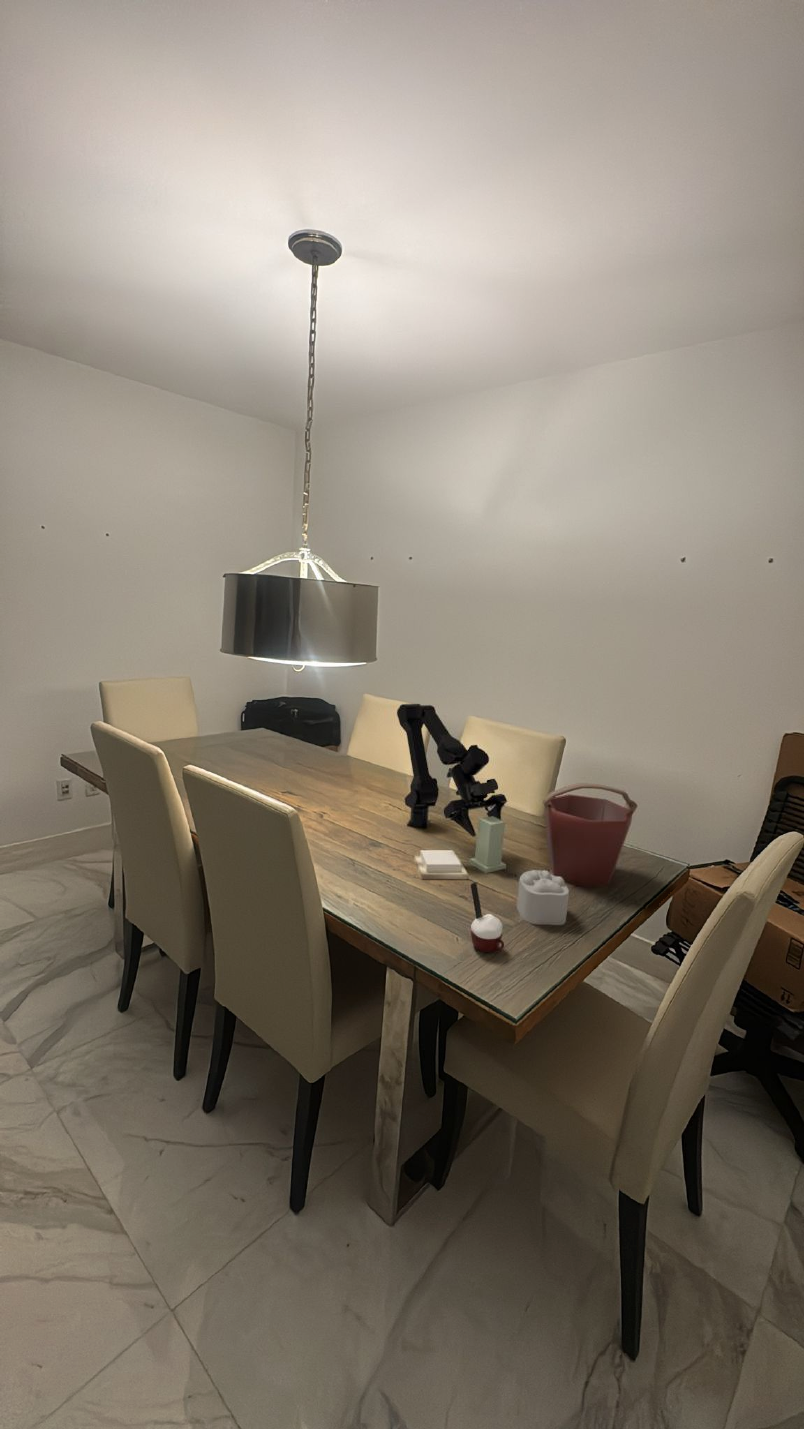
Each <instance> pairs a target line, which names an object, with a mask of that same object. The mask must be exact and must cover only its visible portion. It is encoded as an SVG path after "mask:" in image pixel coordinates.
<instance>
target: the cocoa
mask: <svg viewBox="0 0 804 1429" xmlns="http://www.w3.org/2000/svg"><path fill="white" fill-rule="evenodd" d="M477 885H478V884H477V882H476V881H475V882H472V883H471V884H470V889H471V895H472V900H473V907H474V911H475V919H474V920H473V921H472V923H471V926H470V930H471V931H470V936H471V941H472V944H473V946H474V948H476V949H477V950H478V951H480V952H484V953H492V952H500V951H501V950H503V949H504V948H505V941H503V940H502V937H503V923H502V921H500V919H499V918H498V917H496V916H494V915H493V914H491V913H487V914H485V915H483V913H482V908H481V902H480V896H479V890H478V886H477ZM500 945H501V946H500ZM499 946H500V947H499Z"/></svg>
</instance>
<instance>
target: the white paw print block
mask: <svg viewBox="0 0 804 1429" xmlns="http://www.w3.org/2000/svg"><path fill="white" fill-rule="evenodd" d="M565 882H566V881H564V879H563V878H562V877H559V876H558V877H557V876H554V875H553V873H552V874H551V873H550V872H549V871H548V870H536V869H532V870H528V871H524V872H523V873H522V874H521V875H520V877H519V882H518V890H517V898H516V899H517V900H516V909H517V911H518V913H519V914H520V916H521V917H522V919H523V920H524V921H526V922H528V923H530V924H531V925H532V924H533V925H552V926H553V925H554V926H562V925H564V924H565V923H566V920H567V914H568V913H567V911H568V905H569V897H570V896H569V895H570V890H569V888H568V886H567V885H566V883H565Z"/></svg>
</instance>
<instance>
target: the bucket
mask: <svg viewBox="0 0 804 1429" xmlns="http://www.w3.org/2000/svg"><path fill="white" fill-rule="evenodd" d="M581 789H596V790H603V791H607V792H608V791H609V792H612V793H615V794H618V795H621V797H622V798H623V800H624V801H625V805H624V806H622V805H619V804H617V803H616V802H613V801H610V800H609V799H606V798H598V797H589V796H584V795H576V794H570V792H573V791H577V790H581ZM567 793H569V794H567ZM564 794H565V795H564ZM542 804H543V806H544V820H545V832H546V842H547V844H546V846H547V856H548V858H547V859H548V866H549V868H550V870H551V873H552V875H554V876H557V877H558V876H559V877H562V878H563V879H564V882H567V883H571V884H573V885H576V886H578V887H582V888H583V887H608V886H609V884H610V881H611V880H612V877H613V875H614V872H615V870H616V867H617V864H618V861H619V859H620V855H621V853H622V851H623V847H624V844H625V841H626V839H627V835H628V832H629V830H630V828H631V827H630V826H631V824H632V821H633V815H634V813H635V812H636V810H637V808H638V804H637V803H636V802H635V801H634V800H633V799H631V798H630V797H629V794H628V793H627V792H626V791H625V790H622V789H619V788H617V787H616V788H615V787H612V786H607V785H603V784H597V783H587V782H586V783H581V782H580V783H578V782H577V783H575V784H571V785H568V786H563V787H560V788H559V789H555V790H552V791H551V792H550V793H548V794H547V795H546V796H544V798H543V799H542Z"/></svg>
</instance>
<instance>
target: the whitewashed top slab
mask: <svg viewBox="0 0 804 1429" xmlns="http://www.w3.org/2000/svg"><path fill="white" fill-rule="evenodd" d="M419 853H420V854H419V855H420V858H421V860H422V863H423V865H424V867H425V870H426V872H460V871H461V863H462V862H461V863H460V862H459V860H458V858H459V857H458V858H457V857H456V855H457V854H456V853H455V852H454V850H450V849H449V850H445V849H444V850H439V849H438V850H436V849H435V850H433V849H432V850H431V849H429V850H428V849H425V850H423V849H421V850H420V852H419Z"/></svg>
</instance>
